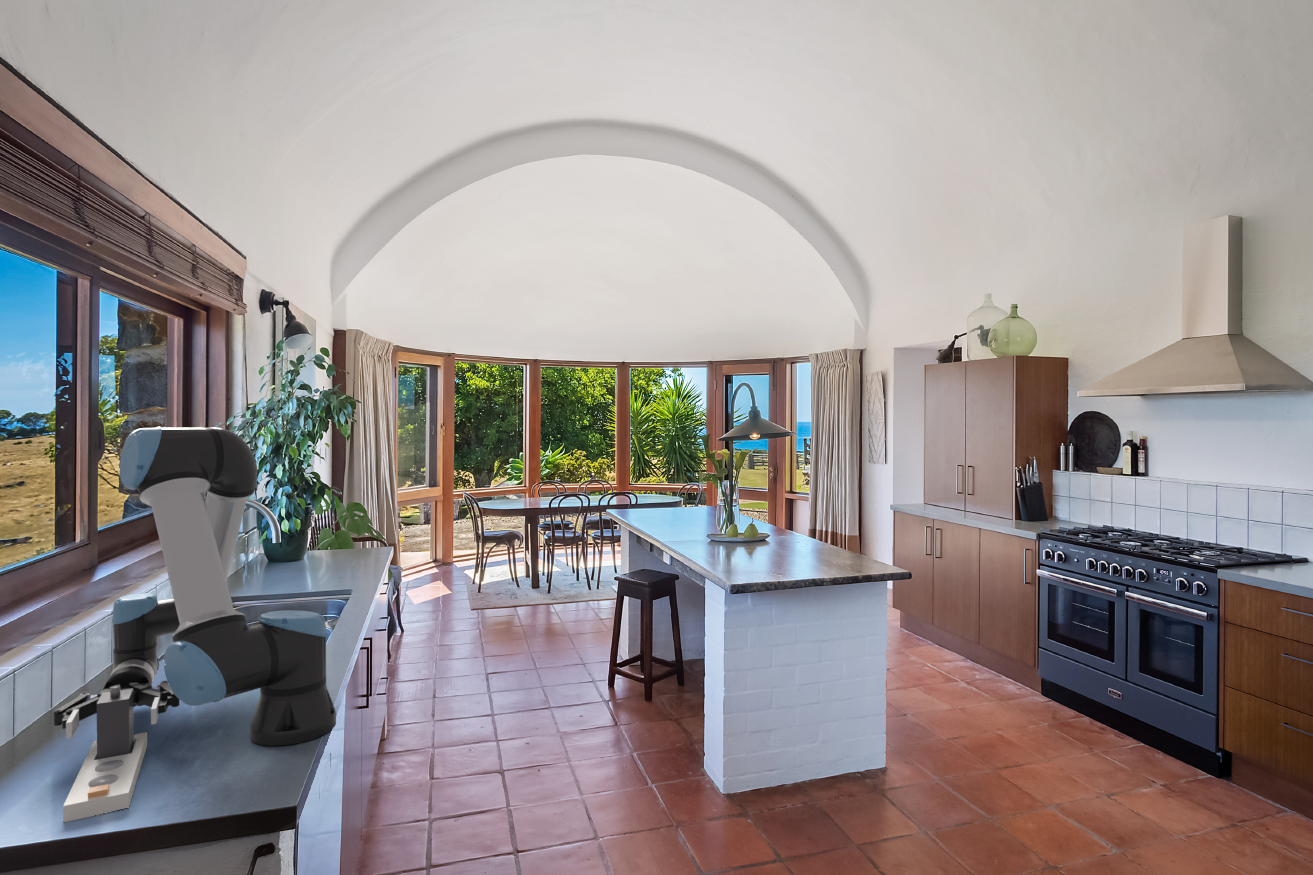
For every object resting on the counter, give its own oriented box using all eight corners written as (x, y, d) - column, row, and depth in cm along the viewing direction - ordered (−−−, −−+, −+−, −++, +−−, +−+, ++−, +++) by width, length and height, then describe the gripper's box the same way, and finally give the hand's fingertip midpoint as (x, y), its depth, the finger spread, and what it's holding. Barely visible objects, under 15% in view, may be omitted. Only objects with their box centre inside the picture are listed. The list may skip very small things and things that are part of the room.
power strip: (93, 754, 131) (93, 736, 131) (147, 745, 135) (147, 727, 135) (63, 822, 109) (63, 800, 109) (128, 808, 113) (128, 787, 113)
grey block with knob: (103, 753, 130) (102, 684, 129) (133, 748, 132) (133, 679, 132) (97, 767, 124) (96, 695, 124) (129, 761, 127) (128, 690, 126)
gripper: (199, 692, 149) (193, 730, 130) (53, 714, 138) (23, 760, 119) (198, 656, 149) (192, 689, 130) (53, 675, 138) (23, 715, 119)
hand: (112, 723), depth 125 cm, fingers open, 11 cm apart
